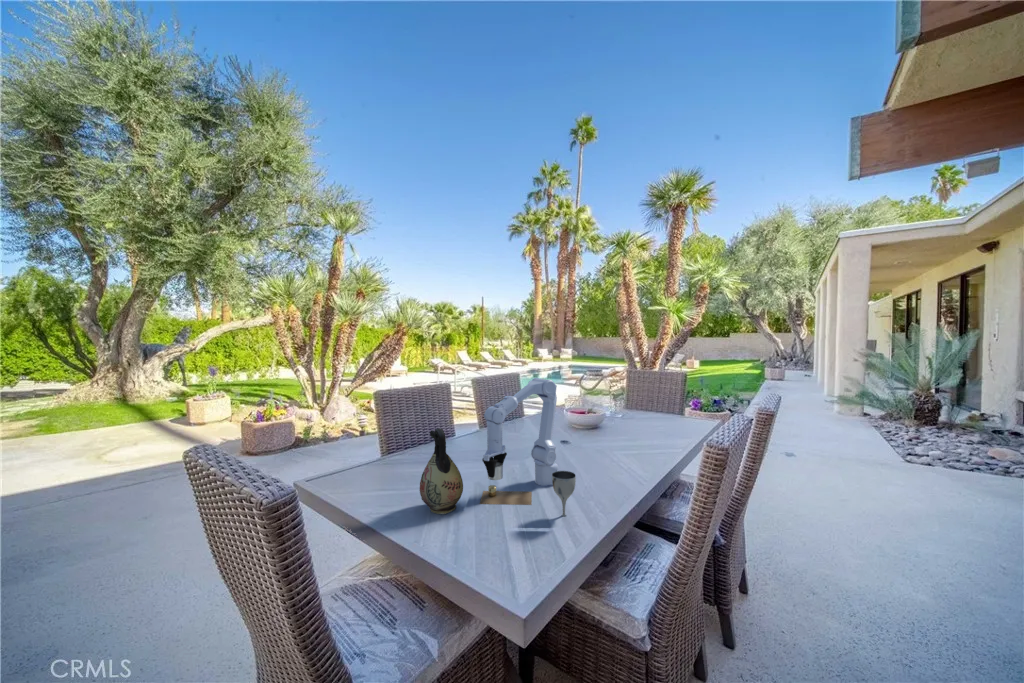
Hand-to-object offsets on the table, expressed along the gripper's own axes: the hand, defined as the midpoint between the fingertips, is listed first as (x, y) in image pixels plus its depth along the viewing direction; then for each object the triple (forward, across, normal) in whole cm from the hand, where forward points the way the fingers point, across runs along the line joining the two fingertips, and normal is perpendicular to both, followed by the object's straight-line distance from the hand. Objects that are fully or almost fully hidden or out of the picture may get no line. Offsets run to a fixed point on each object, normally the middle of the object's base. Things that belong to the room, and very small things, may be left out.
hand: (495, 474), depth 152 cm
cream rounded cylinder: (+10, 0, +1) cm, 10 cm away
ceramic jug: (+10, -16, +13) cm, 23 cm away
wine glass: (+10, -5, -29) cm, 31 cm away
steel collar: (+1, 0, 0) cm, 1 cm away
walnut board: (+9, +1, -4) cm, 10 cm away
